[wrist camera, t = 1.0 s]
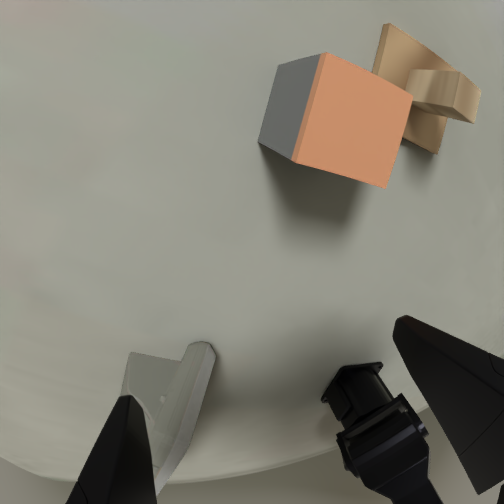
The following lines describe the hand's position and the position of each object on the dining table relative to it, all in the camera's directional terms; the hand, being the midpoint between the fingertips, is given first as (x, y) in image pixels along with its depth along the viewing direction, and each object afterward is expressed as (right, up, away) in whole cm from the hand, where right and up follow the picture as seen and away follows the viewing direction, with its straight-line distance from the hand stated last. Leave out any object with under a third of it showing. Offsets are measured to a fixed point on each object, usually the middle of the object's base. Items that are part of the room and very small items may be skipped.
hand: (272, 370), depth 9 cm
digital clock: (-9, -10, +18) cm, 23 cm away
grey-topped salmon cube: (+3, +12, +9) cm, 16 cm away
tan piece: (+12, +16, +9) cm, 22 cm away
